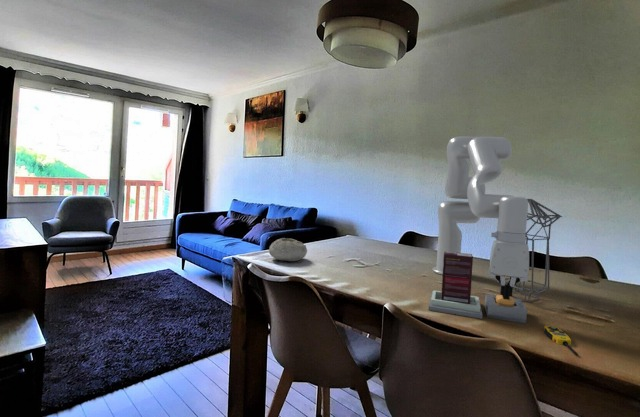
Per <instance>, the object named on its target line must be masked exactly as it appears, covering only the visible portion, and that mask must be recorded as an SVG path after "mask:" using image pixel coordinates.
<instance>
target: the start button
mask: <svg viewBox="0 0 640 417" xmlns="http://www.w3.org/2000/svg"><path fill="white" fill-rule="evenodd" d="M495 296H496V303H499V304H505V305H512V306H514V303H515V299H514V297H511V296H510V299H509V300H508V299H507V298H506V299H503V297H502V295H500V294H497V295H495Z"/></svg>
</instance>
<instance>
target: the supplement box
mask: <svg viewBox="0 0 640 417" xmlns="http://www.w3.org/2000/svg"><path fill="white" fill-rule="evenodd" d="M473 259H474V257H473V254H472V253H463V252H461V253H455V252H444V258H443V275H442V278H441V291H442V297H441V300H445V301H451V302H458V303H464V304H470V297H471V296H472V294H471V293H472V280H473V263H474V260H473Z"/></svg>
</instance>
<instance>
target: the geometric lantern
mask: <svg viewBox="0 0 640 417" xmlns="http://www.w3.org/2000/svg"><path fill="white" fill-rule="evenodd" d="M526 199H527V200H528V206H529V208H530V212H531V213H529V212H528V213H527V221H529V220H530V221H532V222H533V224H532V225H531V227H529V228H528V230H526V236H525V243H526V244H528V245H529V243H528V241H531V243H532V244H531V280H529V279H528V281H527V282H528V283H531V289H530V288H527V287H525V286H526V285H525V284H526V283H525V282H526V281H523V282H518V285H517V284H515V285H514V287H513V288H514V290H512V293H516V294H519V295H521V296H524V299H522V298H519V297H517V296H515V295H512V296H510V297H513V298H516V299H521V300H522V302H527V303H529V302H533V301H538V300H540V294H541V293H543V292H546V291H547V290H550V239H551V230H552V228H551V227H552V224H554V223H555V222H556V221H558V220H559V219H561V218H563V216H562V215H560V214H558V212H555V211H553V210H551V209H550V208H549V207H546V206H545V205H544V204H541V203H540V202H538V201H536V200H534V199H533V198H526ZM542 208H543V209H544V210H546V211H548V212H550V213H552V214H547V212H545V211H544V210H543V209H542ZM533 218H536V220H534V219H533ZM542 219H543V221H544V222H542ZM547 219H548V220H547ZM536 224H538V225H540V226H541V227H540V228H539V230H538V231H537V232H536V233H535V234H529V232H530V231H531V230H532V229H533V227H535V226H536ZM546 227H548V233H547V230H546ZM542 229H543V230H544V233H545V236H543V235H538V233H539V232H540V231H541V230H542ZM528 236H530V237H531V236H532V238H529V237H528ZM535 237H537V238H535ZM542 240H543V241H544V240H546V250H545V251H546V252H545V272H544V283H542V282H541V283H540V282H537V281H534V269H535V266H534V265H535V264H534V261H535V260H534V259H535V257H534V256H535V241H542ZM509 278H510V277H505V281H506V280H508V281H509ZM496 282H497V283H499V281H498V280H497V279H496ZM521 283H522V286H521ZM534 284H536V285H538V286H539V285H540V286H542V287H541V288H534ZM527 292H529V293H527ZM533 292H534V293H533ZM527 297H528V299H527ZM530 297H533V298H534V299H530Z"/></svg>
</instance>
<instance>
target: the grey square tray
mask: <svg viewBox="0 0 640 417" xmlns="http://www.w3.org/2000/svg"><path fill="white" fill-rule="evenodd" d="M441 297H442V290H434V289H433V290H432V292H431V295H430V298H429V299H430V300H429V303H428V311H433V312H438V313H445V314H451V315H455V314H456V315H455V316H461V317H469V318H473V319H479V320H482V319H483V312H482V306H481V302H480V297H479V296H476V295H471V297H470V304H464V303H458V302H451V301H445V300H441Z"/></svg>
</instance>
